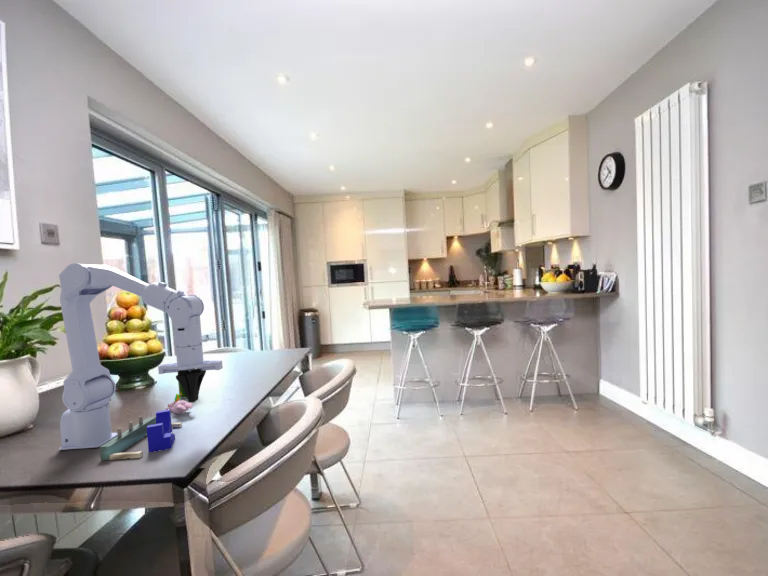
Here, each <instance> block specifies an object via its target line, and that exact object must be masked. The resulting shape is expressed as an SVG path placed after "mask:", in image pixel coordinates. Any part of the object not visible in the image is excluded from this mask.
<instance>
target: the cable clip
mask: <svg viewBox="0 0 768 576" xmlns="http://www.w3.org/2000/svg"><path fill="white" fill-rule="evenodd" d="M171 412H172V411H170V409H169V410H166V409H163V410H159V411H156V412H155V417H156V424H153V425H148V426H147V435H146V436H147V446H148V447H147V448H148V453H149V452H151V453H155V452H154V451H156V452H160V451H159V450H161V451H165V449H167V450H171V449H172V448H173V446H172V445H174V443H175V441H174V440H176V434H175V433H173V428H172V424H171V423H172V415H171V414H172V413H171ZM171 432H172V433H171ZM170 448H171V449H170Z"/></svg>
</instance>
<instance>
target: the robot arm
mask: <svg viewBox="0 0 768 576" xmlns="http://www.w3.org/2000/svg"><path fill="white" fill-rule="evenodd" d="M58 276H59V277H58V278H59V282H60V290H61V291H60V296H59V302H60V307H61V308H60V309H61V314H62V320H63V325H64V331H65V336H66V341H67V346H68V352H69V358H70V364H71V369H72V370H71V372H70V373H69V374H68V375H67V376H66V378H65V379H64V380H63V382H62V383H63V392H62V395H61V396H62V397H61V398H62V403H63V405H64V406H65V407H66V408H67V409H66V410H65V411H64V412H63V413H62V414H61V418H60V422H59V430H60V439H61V446H60V447H59V449H58V450H59V451H65V450H78V449H80V450H81V449H93V448H94V449H95V448H100V447H101V446H102V445H104V444H106V443H107V442H109V441H111V440H112V439H114V438H116V437H117V436H118V435H117V432H113V431H112V422H111V420H112V419H111V409H110V408H111V407H110V406H111V405H110V402H112V397H113V396H114V395H115V393H116V391H117V387H116V383H115V380H114V379H113V378H112V376H111V373H110V372H111V371H110V369H109V368H107V367H105V366H103V365H102V364H101V361H100V355H99V350H98V343H97V338H96V333H95V326H94V321H93V315H92V310H91V303H92V302H93V301H94V299H95V298H96V297H97V296H99V295H102V293H104V292H106V291H108V290H109V289H111V288H112V287H115V288H118V289H120V290H122V291H126V292H129V293H131V294H134V295H137V296H139V297H141V298H142V302H143V304H146V305H147V306H150V307H152V308H154V309H157V310H159V311H161V312H164V313H166V314H167V315H168V317H169V318H170V319H171V321H172V326H173V328H174V329H173V330H174V340H175V354H176V355H175V357H176V362H175V363H166V364H160V365H159V366H157V367H158V375H163V374H171V373H177V375H175V379H176V381H178V382H179V383H180V384H181V386H182V387H183V389H184V391H185V393H186V396H187V398H188V399H187V402H188V403H195V402H196V401H199V394H200V389H201V385H202V382H203V380H204V377H205V376H206V372H207V371H219V370H222V369H223V360H222V359H221V360H204V352H203V350H204V349H203V337H202V327H201V326H202V324H201V315H202V314H203V312H204V310H205V304H204V302H203V300H202V299H201V298H200V297H198V296H197V295H196V294H187V295H186V294H185V291H182V290H175V289H174V288H172V287H169V286H167V285H168V284H167V282H163V281H162V282H161V281H160V282H159V281H158V282H152V283H150V284H149V283H147V282H145V281H143V280H141V279H139V278H137V277H135V276H133V275H130V274H128V273H127V272H124V271H122V270H120V269H119V268H118V267H115V266H111V265H108V264H105V263H104V264H91V263H90V264H87V263H78V262H75V263H74V262H73V263H70V264H69V265H67V266H66V267H65V268H64V269H63V270H62V271H61V272H60V273H59V275H58ZM193 368H195V369H193ZM178 382H177V383H178Z"/></svg>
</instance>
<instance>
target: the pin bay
mask: <svg viewBox="0 0 768 576" xmlns="http://www.w3.org/2000/svg"><path fill="white" fill-rule="evenodd" d="M127 424H128V429H127V430H125V431H124V432H122V427H118V428H117V429H116V433H117V435H118V436H116V437H115V438H113V439H112V440H110V441H108V442H107V443H105V444H103V445H102V446H100V447H99V452H100V453H99V455H100V461H111V460H113V461H114V460H128V459H127V458H130V459H139V458H142V457H143V456H144V455H143V454H144V453H143V450H141V451H140V450H139V451H126V450H127V449H128V448H130V447H131V446H133V445H134V444H136V443H137V442H139V441H141V440H142V439H143V438H145V437H146V436H147V435H146V434H147V426H148V425H153V424H156V416H148V417H147V418H145V419H143V415H139V416H138V423H137V424H135V425H133V421H129V422H128V423H127ZM171 424H172V427H180V428H182V427H183V423H182V422H171ZM145 435H146V436H145ZM144 436H145V437H144ZM142 437H143V438H142ZM141 438H142V439H141ZM138 440H139V441H138ZM129 446H130V447H129ZM126 448H127V449H126ZM122 451H123V452H122ZM125 451H126V452H125ZM141 456H142V457H141Z"/></svg>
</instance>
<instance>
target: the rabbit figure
mask: <svg viewBox="0 0 768 576" xmlns="http://www.w3.org/2000/svg"><path fill="white" fill-rule="evenodd" d="M193 405H194V403H193V402H189V401H188V400H187V401H186V400H185V399H181V398H180V395H179V393H176V394H175V397H174V401H172V402H170V403H167V407H165V410H168V409H170V412H172V413H173V414H178V415H183V414H184V413H185V412H187V411H188V410H189V409H192V408H193ZM182 413H183V414H182Z"/></svg>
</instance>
